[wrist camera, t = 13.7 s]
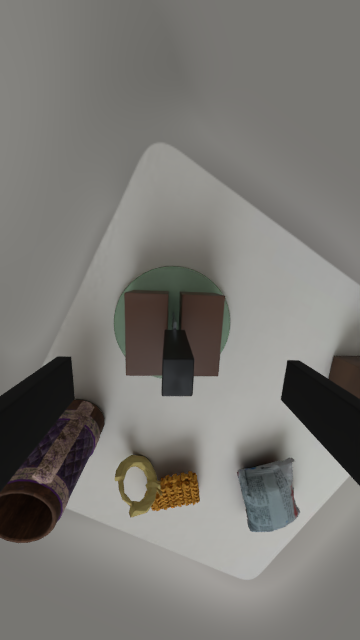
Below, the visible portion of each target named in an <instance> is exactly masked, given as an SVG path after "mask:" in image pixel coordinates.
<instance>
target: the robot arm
mask: <svg viewBox="0 0 360 640" xmlns="http://www.w3.org/2000/svg"><path fill="white" fill-rule="evenodd" d="M74 399H75V397H74V385H73V373H72V361H71V357H56V358H55V359H53V360H52V361H50V362H49V363H48V364H46V365H45V366H43V367H42V368H40V369H39V370H37V371H36V372H35V373H33V374H32V375H30V376H29V377H27V378H26V379H25V380H23V381H21V382H20V383H19V384H17V385H16V386H14V387H13V388H11V389H10V390H8V391H7V392H6V393H4V394H3V395H1V396H0V492H1V491H2V489H3V488H4V487H5V486H6V484H7V483H8V482H9V481H10V479H11V478H12V477H13V476H14V474H15V473H16V472H17V471H18V469H19V468H20V467H21V466H22V464H23V463H24V462H25V460H26V459H27V458H28V457H29V455H30V454H31V453H32V452H33V450H34V449H35V448H36V447H37V445H38V444H39V443H40V442H41V440H42V439H43V438H44V437H45V435H46V434H47V433H48V432H49V430H50V429H51V428H52V427H53V425H54V424H55V423H56V422H57V420H58V419H59V418H60V417H61V415H62V414H63V413H64V411H65V410H66V409H67V408H68V406H69V405H70V404H71V403H72V401H73V400H74ZM281 400H282V401H283V402H284V404H285V405H286V406H287V407H288V408H289V409H290V410H291V411H292V412H293V413H294V414H295V416H296V417H297V418H298V419H299V420H300V421H301V422H302V423H303V424H304V425H305V426H306V428H307V429H308V430H309V431H310V432H311V433H312V434H313V435H314V436H315V437H316V438H317V440H318V441H319V442H320V443H321V444H322V445H323V446H324V447H325V448H326V449H327V450H328V452H329V453H330V454H331V455H332V456H333V457H334V458H335V459H336V460H337V461H338V462H339V464H340V465H341V466H342V467H343V468H344V469H345V470H346V471H347V472H348V473H349V475H350V476H351V477H352V478H353V479H354V480H355V481H356V482H357V483H358V484H359V485H360V399H359V398H358V397H356V396H354V395H353V394H351V393H350V392H348V391H347V390H345V389H343V388H342V387H340V386H339V385H337V384H336V383H334V382H332V381H331V380H329V379H328V378H326V377H324V376H323V375H321V374H320V373H318V372H317V371H315V370H313V369H312V368H310V367H309V366H307V365H306V364H304V363H302V362H301V361H298V360H287V366H286V372H285V378H284V384H283V390H282V396H281Z"/></svg>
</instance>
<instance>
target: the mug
mask: <svg viewBox="0 0 360 640" xmlns="http://www.w3.org/2000/svg"><path fill="white" fill-rule="evenodd" d="M103 427H104V416H103V414H102V412H101V411H100V409H99V408H98V407H97V406H95V405H94V404H92V403H91V402H88V401H84V400H73V401H72V403H71V404H70V405H69V406H68V408H67V409H66V410H65V411H64V413H63V414H62V415H61V417H60V418H59V419H58V420H57V422H56V423H55V424H54V425H53V427H52V428H51V429H50V430H49V432H48V433H47V434H46V435H45V437H44V438H43V439H42V440H41V442H40V443H39V444H38V445H37V447H36V448H35V449H34V450H33V452H32V453H31V454H30V455H29V457H28V458H27V459H26V460H25V462H24V463H23V464H22V466H21V467H20V468H19V469H18V471H17V472H16V473H15V474H14V476H13V477H12V478H11V479H10V481H9V482H8V483H7V484H6V486H5V487H4V488H3V489H2V491H1V492H0V538H2V539H4V540H7V541H11V542H16V543H28V542H32V541H36V540H39V539H41V538H43V537H44V536H46V535H48V534H49V533H50V532H51V531H52V530H53V528H54V527H55V525H56V523H57V521H58V520H59V519H60V517H61V516H62V513H63V512H64V509H65V508H66V505H67V503H68V500H69V498H70V496H71V493H72V491H73V489H74V487H75V485H76V483H77V481H78V479H79V477H80V475H81V473H82V471H83V469H84V467H85V465H86V463H87V461H88V459H89V457H90V456H91V455H92V454H93V452H94V450H95V447H96V445H97V443H98V441H99V438H100V434H101V432H102V430H103Z"/></svg>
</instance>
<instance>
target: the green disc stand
mask: <svg viewBox="0 0 360 640" xmlns="http://www.w3.org/2000/svg"><path fill="white" fill-rule="evenodd" d="M172 312H175V317H176V322H177V326H176V330H185V332H186V335H187V338H188V341H189V344H190V347H191V350H192V353H193V356H194V360H195V361H194V376H218V372H219V361H220V353H221V352H222V350H223V349H224V346H225V344H226V342H227V339H228V335H229V330H230V315H229V310H228V306H227V303H226V301H225V296H224V295H222V293H221V291H220V290H219V289H218V287H217V286H216V285H215V284H214V283H213V282H212V281H211V280H209V279H208V278H207V277H206V276H204V275H202V274H201V273H199V272H197V271H194V270H192V269H188V268H184V267H177V266H167V267H161V268H156V269H153V270H150V271H148V272H146V273H144V274H142V275H141V276H139V277H138V278H136V279H135V280H134V281H133V282H132V283H130V285H129V286H128V287H127V288H126V289H125V291H124V292H123V294H122V295H121V297H120V299H119V301H118V304H117V307H116V310H115V315H114V331H115V336H116V340H117V342H118V345H119V347H120V349H121V351H122V353H123V354H124V355H125V357H126V375H129V376H154V377H157V378H162V357H163V344H164V330H165V329H167V330H172Z"/></svg>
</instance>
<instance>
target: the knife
mask: <svg viewBox="0 0 360 640" xmlns="http://www.w3.org/2000/svg"><path fill="white" fill-rule="evenodd" d="M176 326H177V322H176V317H175V312H172V330H167V329H165V330H164V344H163V357H162V396H192V395H193V378H194V361H195V360H194V356H193V353H192V350H191V347H190V344H189V341H188V338H187V335H186V332H185V330H176Z"/></svg>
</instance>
